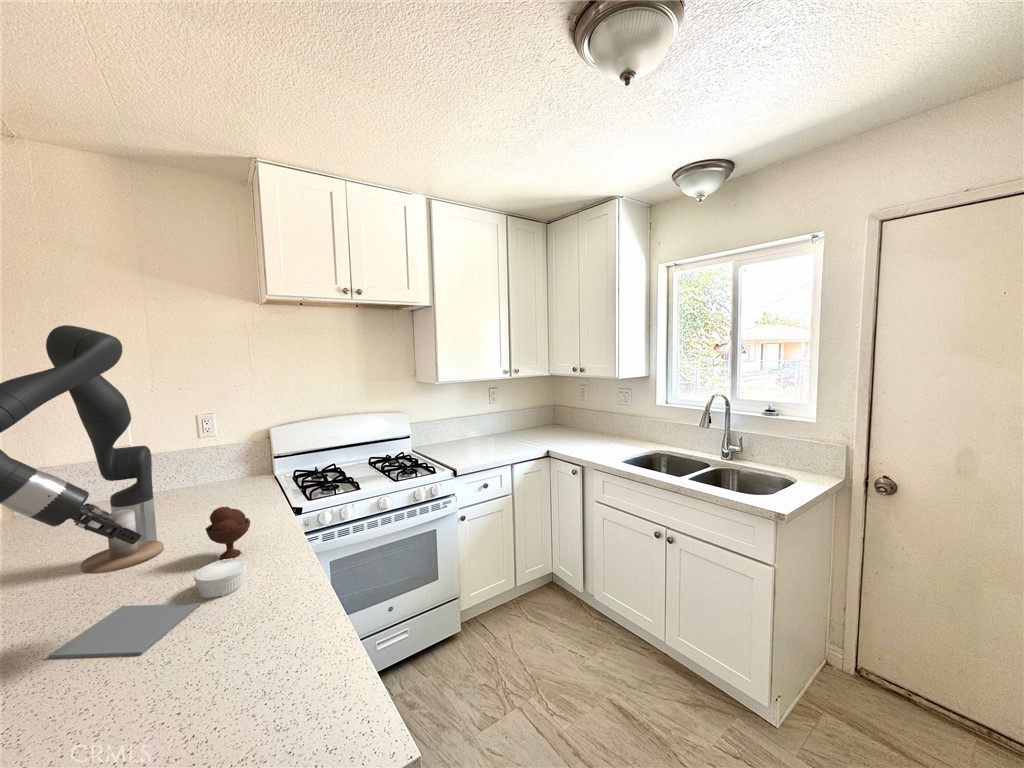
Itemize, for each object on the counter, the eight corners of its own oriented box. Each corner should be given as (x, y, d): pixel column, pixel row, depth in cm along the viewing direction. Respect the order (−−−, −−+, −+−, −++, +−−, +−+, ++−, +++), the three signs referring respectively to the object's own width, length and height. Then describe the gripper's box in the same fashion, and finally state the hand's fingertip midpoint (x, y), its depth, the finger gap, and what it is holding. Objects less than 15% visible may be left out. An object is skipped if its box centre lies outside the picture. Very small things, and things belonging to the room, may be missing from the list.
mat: (48, 658, 82) (48, 655, 82) (122, 608, 98) (122, 605, 98) (141, 654, 82) (141, 651, 82) (200, 605, 98) (199, 603, 98)
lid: (61, 574, 82) (56, 526, 81) (120, 544, 95) (117, 503, 94) (128, 572, 82) (124, 524, 82) (178, 543, 95) (175, 501, 95)
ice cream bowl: (230, 566, 117) (227, 514, 115) (198, 563, 119) (194, 512, 118) (260, 548, 127) (257, 500, 126) (230, 546, 129) (226, 499, 128)
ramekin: (240, 572, 114) (239, 553, 113) (255, 586, 106) (254, 566, 106) (190, 590, 105) (188, 570, 105) (202, 607, 98) (200, 585, 97)
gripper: (69, 487, 77) (158, 528, 87) (61, 475, 86) (142, 513, 96) (28, 525, 73) (126, 563, 84) (24, 507, 82) (113, 544, 93)
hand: (134, 536), depth 90 cm, fingers closed on lid, 4 cm apart
